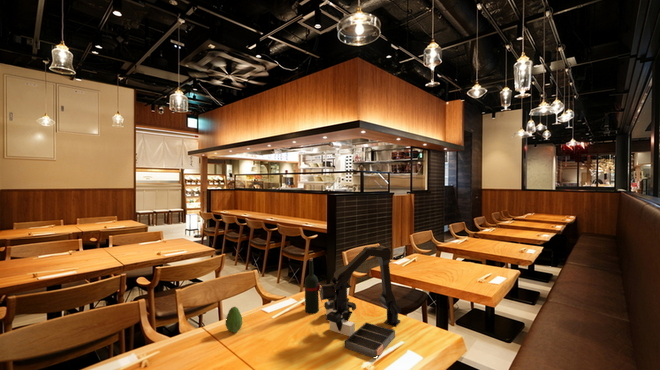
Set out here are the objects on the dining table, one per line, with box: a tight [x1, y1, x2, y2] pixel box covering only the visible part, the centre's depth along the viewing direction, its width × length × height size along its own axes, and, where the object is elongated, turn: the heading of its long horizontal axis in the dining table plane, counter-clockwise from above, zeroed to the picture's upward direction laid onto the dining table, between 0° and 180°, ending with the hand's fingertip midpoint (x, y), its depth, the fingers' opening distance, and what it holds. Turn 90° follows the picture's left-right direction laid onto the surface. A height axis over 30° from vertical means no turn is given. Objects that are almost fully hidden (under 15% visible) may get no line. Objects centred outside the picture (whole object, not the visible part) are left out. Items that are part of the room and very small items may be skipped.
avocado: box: [225, 306, 243, 333], centre depth 142 cm, size 8×8×12 cm
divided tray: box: [343, 321, 396, 359], centre depth 130 cm, size 20×16×3 cm
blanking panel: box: [329, 320, 356, 337], centre depth 140 cm, size 4×12×5 cm, turn 55°
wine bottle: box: [304, 257, 323, 315], centre depth 164 cm, size 8×10×30 cm
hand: (342, 328), depth 140 cm, fingers closed on blanking panel, 4 cm apart
